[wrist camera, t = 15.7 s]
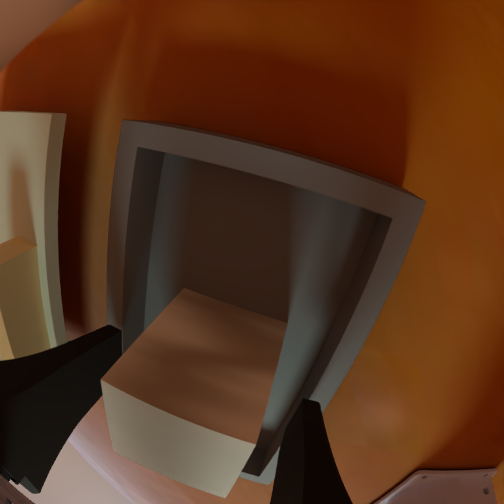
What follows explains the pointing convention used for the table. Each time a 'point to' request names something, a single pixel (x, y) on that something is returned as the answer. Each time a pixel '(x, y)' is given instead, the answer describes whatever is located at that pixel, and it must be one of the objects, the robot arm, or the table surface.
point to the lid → (30, 233)
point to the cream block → (194, 391)
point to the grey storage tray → (256, 251)
